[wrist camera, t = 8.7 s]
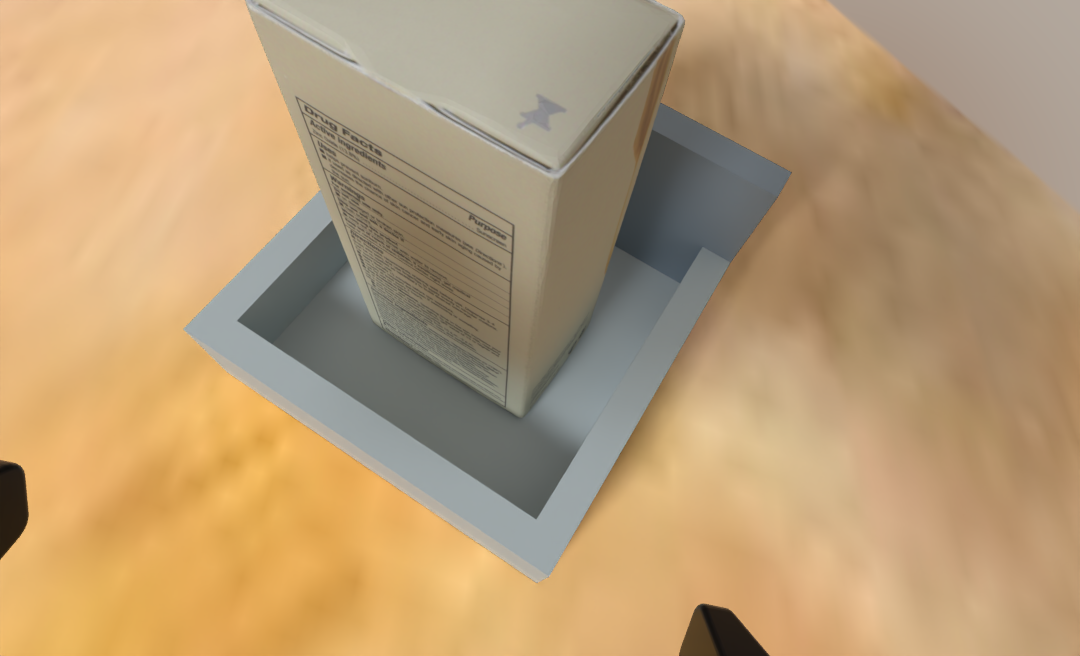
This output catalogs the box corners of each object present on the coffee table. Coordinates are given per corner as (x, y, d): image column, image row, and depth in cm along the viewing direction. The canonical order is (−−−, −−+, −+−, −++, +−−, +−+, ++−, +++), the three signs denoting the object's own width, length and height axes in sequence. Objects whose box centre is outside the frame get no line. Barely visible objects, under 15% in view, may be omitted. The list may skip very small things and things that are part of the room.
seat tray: (536, 582, 19) (566, 567, 13) (227, 372, 21) (119, 267, 15) (707, 290, 24) (792, 172, 18) (443, 138, 26) (431, -20, 19)
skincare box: (592, 323, 22) (713, 19, 11) (521, 426, 20) (577, 193, 9) (439, 227, 23) (404, -142, 12) (359, 317, 21) (229, -13, 10)
